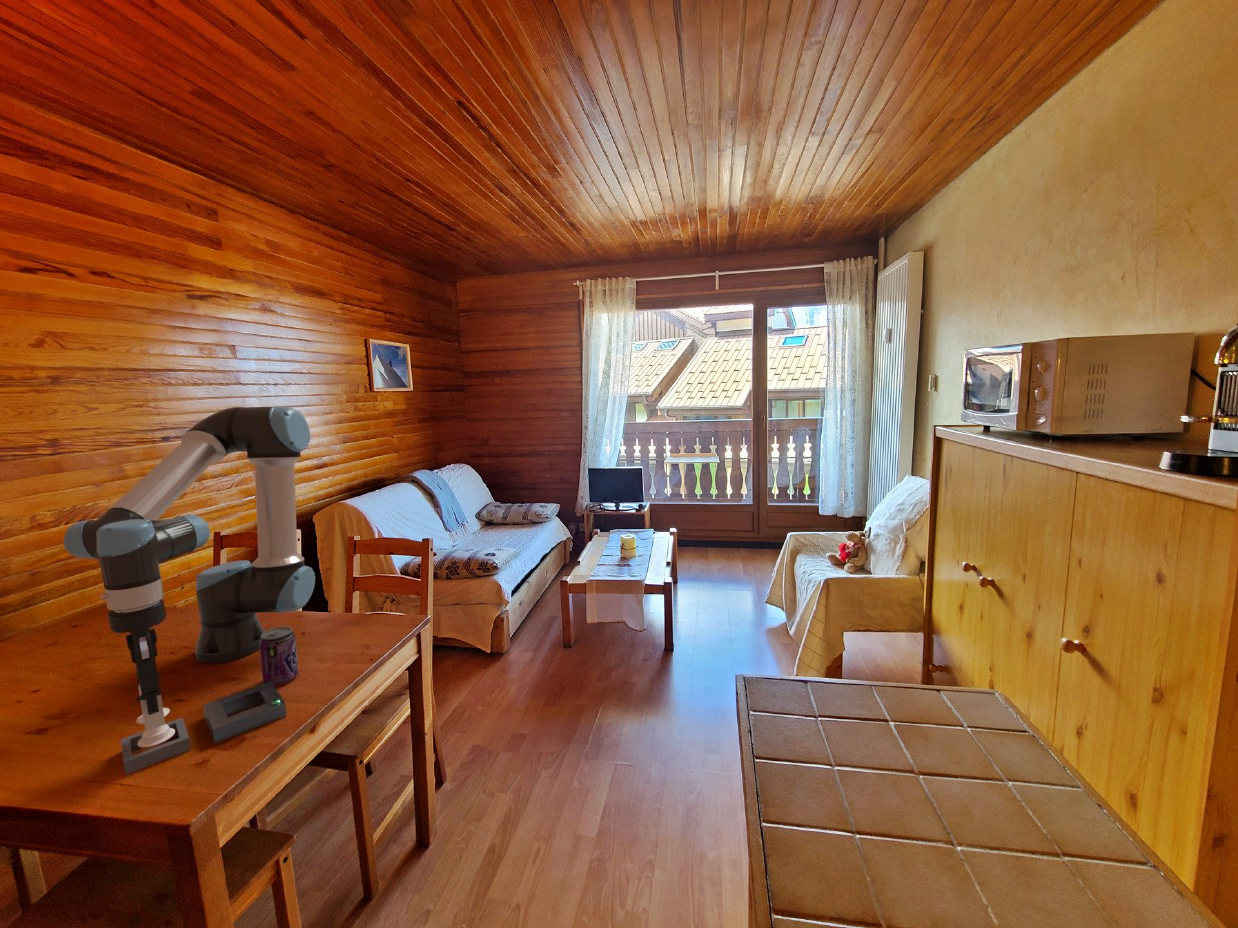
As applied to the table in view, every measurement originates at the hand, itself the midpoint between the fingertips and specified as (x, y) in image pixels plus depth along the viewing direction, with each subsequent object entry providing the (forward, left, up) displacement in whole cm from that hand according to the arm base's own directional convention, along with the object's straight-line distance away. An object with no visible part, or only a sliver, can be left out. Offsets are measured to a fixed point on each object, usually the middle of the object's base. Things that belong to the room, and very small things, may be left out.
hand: (154, 720), depth 96 cm
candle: (0, 0, -4) cm, 4 cm away
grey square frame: (0, 0, -6) cm, 6 cm away
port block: (0, +14, -6) cm, 15 cm away
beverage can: (-11, +23, -6) cm, 26 cm away
